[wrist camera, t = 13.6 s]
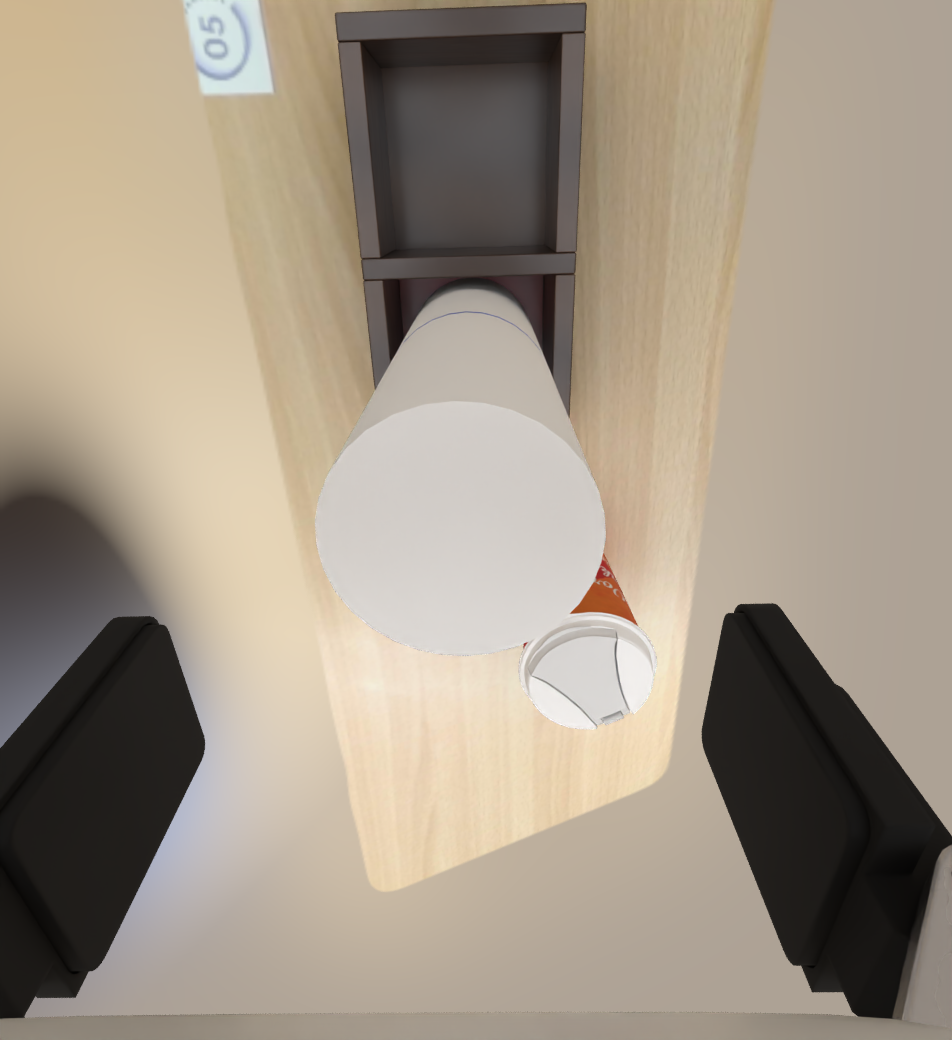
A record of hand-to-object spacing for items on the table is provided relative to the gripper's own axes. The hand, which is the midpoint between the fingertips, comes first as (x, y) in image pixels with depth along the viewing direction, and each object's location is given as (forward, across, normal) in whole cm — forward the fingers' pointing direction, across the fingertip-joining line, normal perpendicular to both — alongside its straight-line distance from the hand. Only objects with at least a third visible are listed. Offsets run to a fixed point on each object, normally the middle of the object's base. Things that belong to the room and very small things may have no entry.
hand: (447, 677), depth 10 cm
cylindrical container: (+30, 0, +1) cm, 30 cm away
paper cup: (+31, -6, +17) cm, 36 cm away
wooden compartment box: (+31, 0, -4) cm, 32 cm away
